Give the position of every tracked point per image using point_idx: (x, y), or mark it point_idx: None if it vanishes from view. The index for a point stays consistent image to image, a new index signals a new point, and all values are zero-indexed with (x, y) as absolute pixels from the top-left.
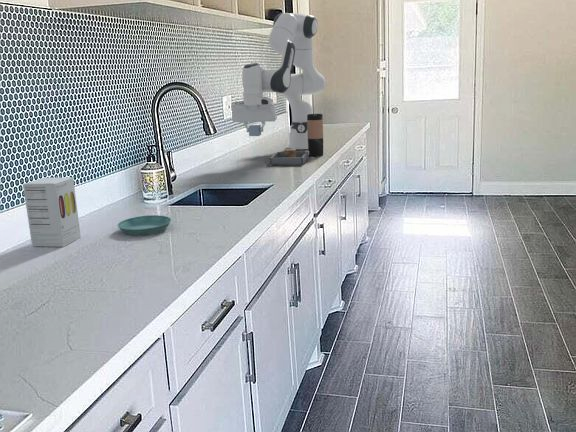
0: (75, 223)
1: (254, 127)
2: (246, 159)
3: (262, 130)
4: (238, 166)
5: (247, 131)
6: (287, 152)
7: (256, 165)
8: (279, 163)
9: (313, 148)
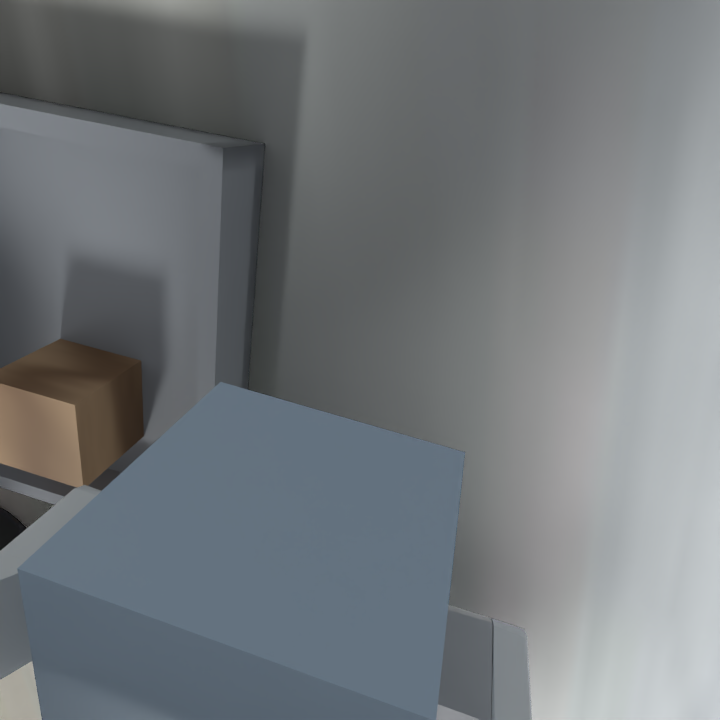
0: None
1: (205, 576)
2: (515, 606)
3: (62, 499)
4: (650, 213)
5: (500, 626)
6: (68, 388)
7: (419, 225)
8: (150, 125)
9: None
